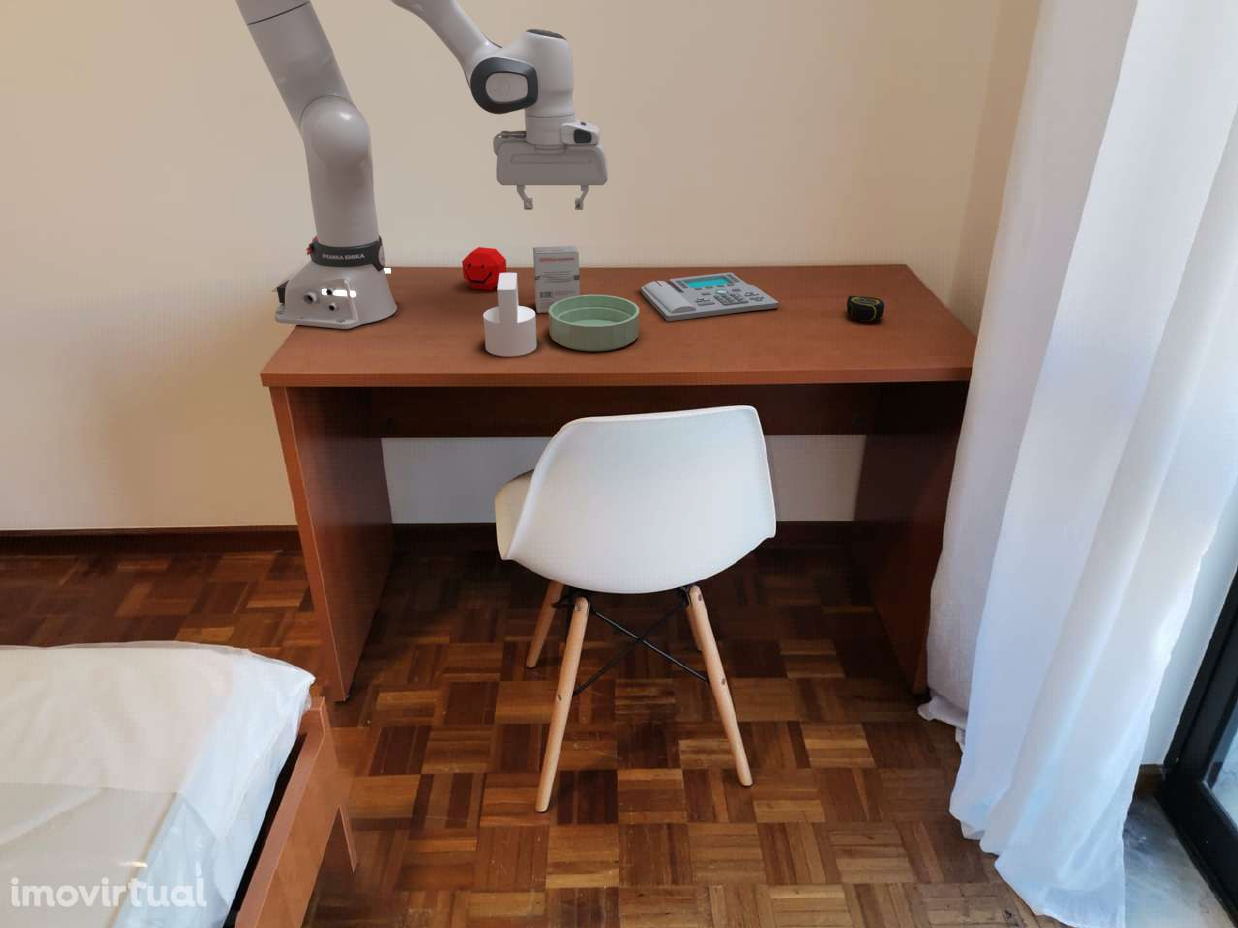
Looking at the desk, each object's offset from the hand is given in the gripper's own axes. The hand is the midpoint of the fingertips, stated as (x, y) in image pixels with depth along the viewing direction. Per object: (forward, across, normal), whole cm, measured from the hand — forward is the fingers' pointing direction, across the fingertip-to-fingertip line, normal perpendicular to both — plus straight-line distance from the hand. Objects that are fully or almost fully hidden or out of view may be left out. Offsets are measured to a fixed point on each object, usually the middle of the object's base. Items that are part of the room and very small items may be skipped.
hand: (553, 209), depth 167 cm
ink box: (+20, 0, 0) cm, 20 cm away
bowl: (+19, +8, -14) cm, 25 cm away
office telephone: (+20, +29, +7) cm, 36 cm away
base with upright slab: (+19, -7, -20) cm, 28 cm away
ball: (+19, -16, +12) cm, 28 cm away
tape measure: (+20, +59, -2) cm, 62 cm away
